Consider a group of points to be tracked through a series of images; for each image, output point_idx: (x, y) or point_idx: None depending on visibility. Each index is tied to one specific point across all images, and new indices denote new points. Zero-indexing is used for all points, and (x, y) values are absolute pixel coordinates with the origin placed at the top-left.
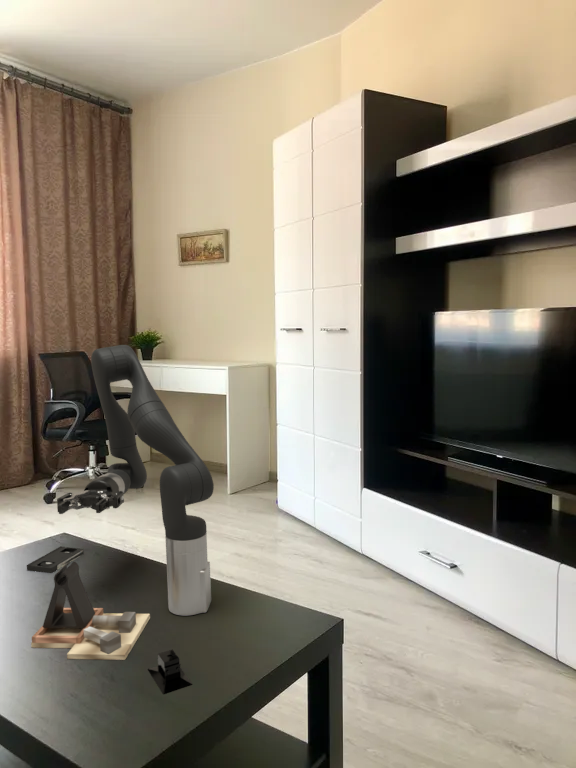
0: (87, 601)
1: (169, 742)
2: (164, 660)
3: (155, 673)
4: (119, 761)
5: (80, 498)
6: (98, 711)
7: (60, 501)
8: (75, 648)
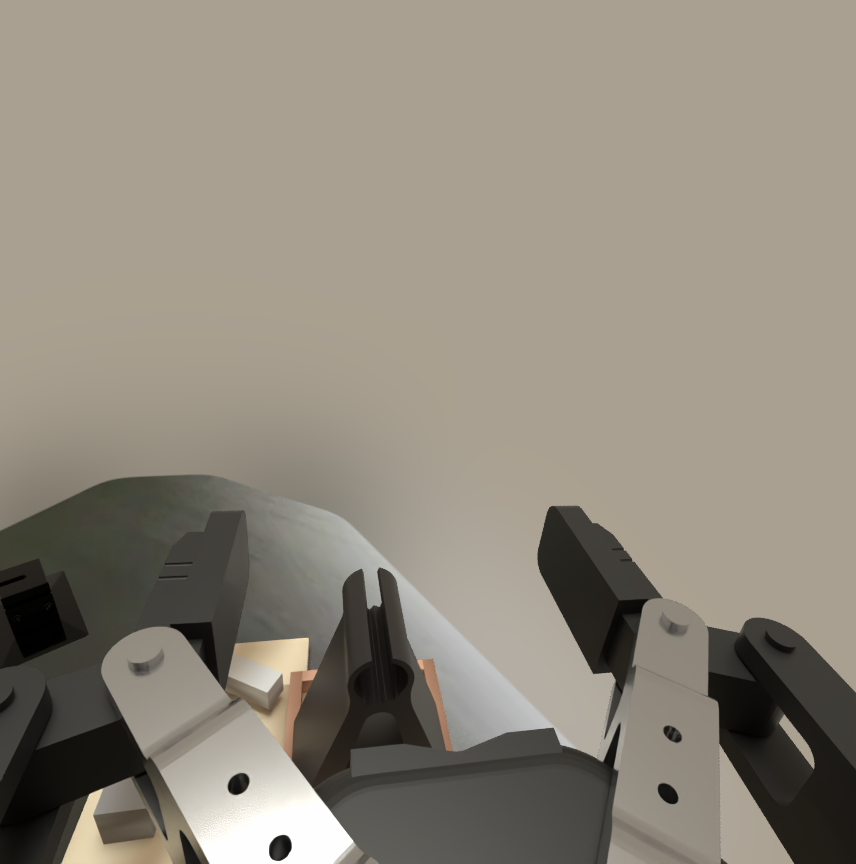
0: (308, 766)
1: (73, 497)
2: (36, 563)
3: (69, 617)
4: (149, 476)
5: (606, 767)
6: (193, 531)
7: (726, 635)
8: (296, 661)
